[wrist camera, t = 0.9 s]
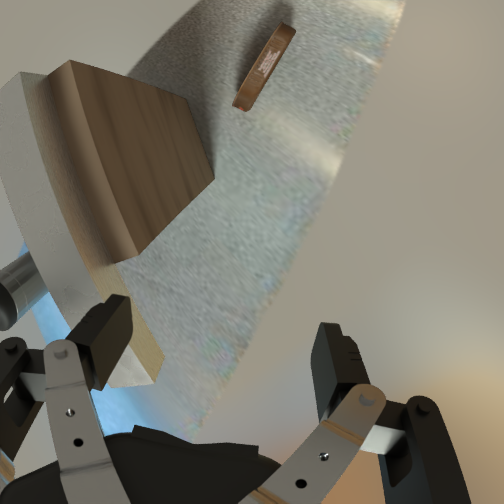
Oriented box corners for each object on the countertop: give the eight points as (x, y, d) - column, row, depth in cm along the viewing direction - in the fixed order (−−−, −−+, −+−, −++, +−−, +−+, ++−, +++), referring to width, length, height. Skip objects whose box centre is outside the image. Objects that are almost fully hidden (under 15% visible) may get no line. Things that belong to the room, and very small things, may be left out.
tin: (278, 31, 39) (281, 12, 31) (296, 39, 40) (302, 22, 32) (232, 107, 44) (226, 102, 37) (250, 116, 45) (248, 112, 37)
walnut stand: (130, 211, 51) (7, 303, 21) (103, 138, 46) (-47, 165, 17) (214, 179, 49) (138, 255, 19) (186, 99, 44) (69, 59, 14)
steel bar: (124, 363, 22) (111, 388, 20) (11, 105, 15) (-17, 106, 12) (165, 356, 22) (154, 383, 19) (47, 75, 14) (19, 71, 12)
